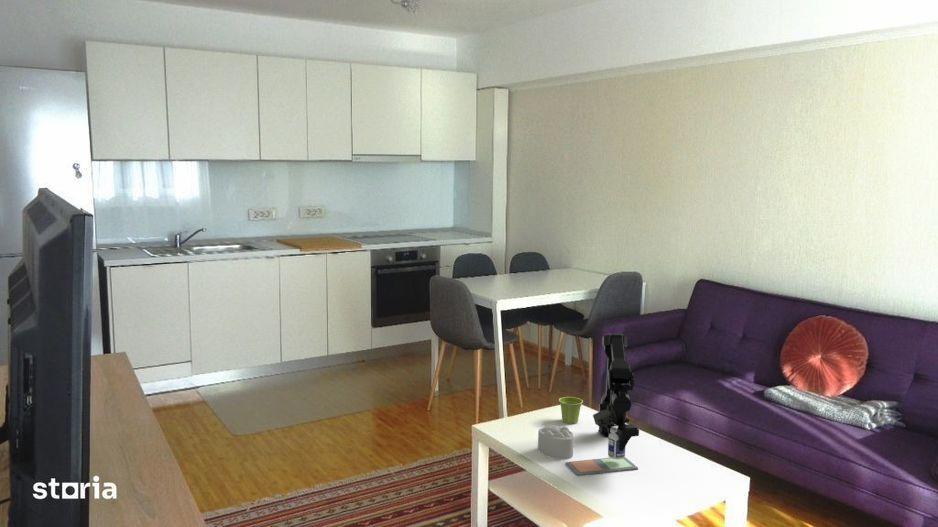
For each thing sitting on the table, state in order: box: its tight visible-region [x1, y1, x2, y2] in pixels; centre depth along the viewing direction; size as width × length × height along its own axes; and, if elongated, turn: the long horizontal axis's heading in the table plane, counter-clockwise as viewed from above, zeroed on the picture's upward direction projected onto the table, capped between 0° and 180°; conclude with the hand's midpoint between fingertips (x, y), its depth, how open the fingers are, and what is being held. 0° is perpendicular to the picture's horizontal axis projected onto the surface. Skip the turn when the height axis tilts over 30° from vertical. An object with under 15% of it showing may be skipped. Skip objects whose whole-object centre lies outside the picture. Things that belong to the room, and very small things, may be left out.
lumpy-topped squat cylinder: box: [537, 424, 575, 460], centre depth 251 cm, size 10×13×9 cm
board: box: [564, 456, 639, 477], centre depth 240 cm, size 22×10×1 cm, turn 106°
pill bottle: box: [607, 426, 626, 459], centre depth 240 cm, size 6×6×10 cm
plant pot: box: [558, 396, 584, 425], centre depth 282 cm, size 9×9×9 cm
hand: (616, 447), depth 241 cm, fingers closed on pill bottle, 6 cm apart
